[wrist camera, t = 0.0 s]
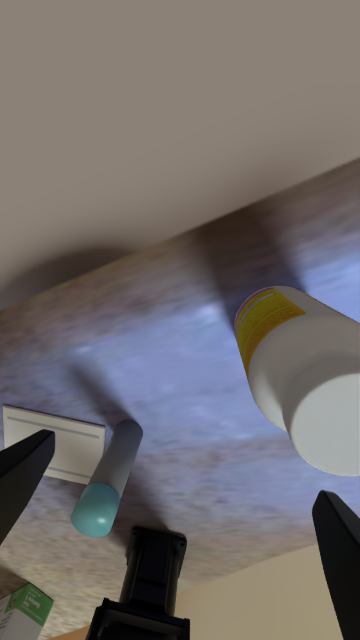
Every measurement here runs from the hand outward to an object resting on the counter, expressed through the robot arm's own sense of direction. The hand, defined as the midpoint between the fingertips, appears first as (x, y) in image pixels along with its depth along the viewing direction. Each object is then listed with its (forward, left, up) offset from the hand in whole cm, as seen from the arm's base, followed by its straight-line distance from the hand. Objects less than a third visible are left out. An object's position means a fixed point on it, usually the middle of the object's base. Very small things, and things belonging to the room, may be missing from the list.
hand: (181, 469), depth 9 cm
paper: (-16, +13, -15) cm, 26 cm away
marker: (-12, +5, -15) cm, 20 cm away
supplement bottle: (+2, -6, -15) cm, 16 cm away
